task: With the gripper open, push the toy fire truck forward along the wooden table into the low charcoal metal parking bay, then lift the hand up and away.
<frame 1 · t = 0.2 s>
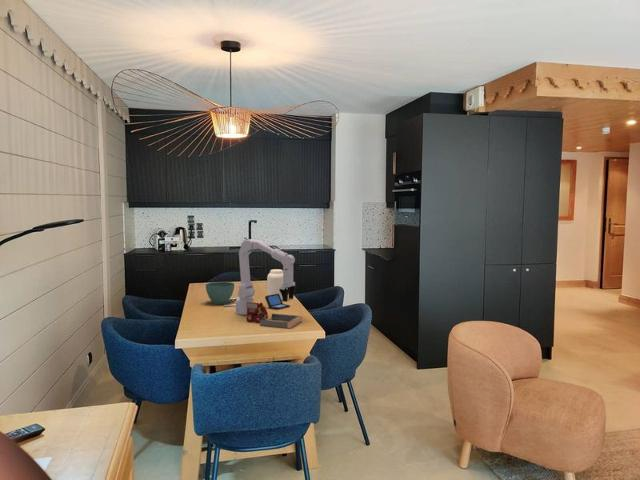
hand: (288, 300, 272), 10 cm above the table, tool pointing down, fingers open, 7 cm apart
plant pot: (220, 303, 311), on the table
parking bay: (280, 323, 259), on the table
handheld game console: (277, 307, 299), on the table
toy fire truck: (256, 321, 264), on the table
white rounded tall piece: (276, 299, 323), on the table
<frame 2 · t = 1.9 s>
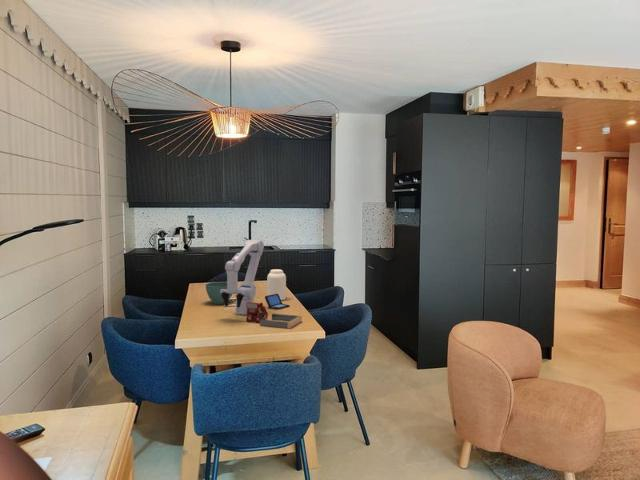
hand: (232, 306, 268), 7 cm above the table, tool pointing down, fingers open, 7 cm apart
nothing on the table moved.
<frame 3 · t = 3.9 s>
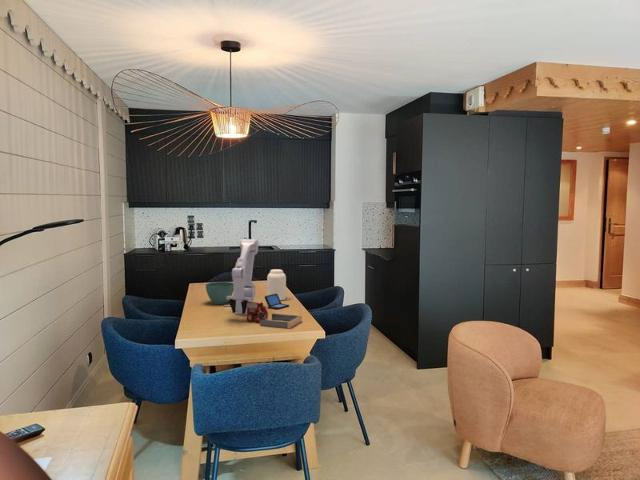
hand: (238, 313, 267), 3 cm above the table, tool pointing down, fingers open, 6 cm apart
toy fire truck: (256, 321, 264), on the table, touching gripper
everything else where it was.
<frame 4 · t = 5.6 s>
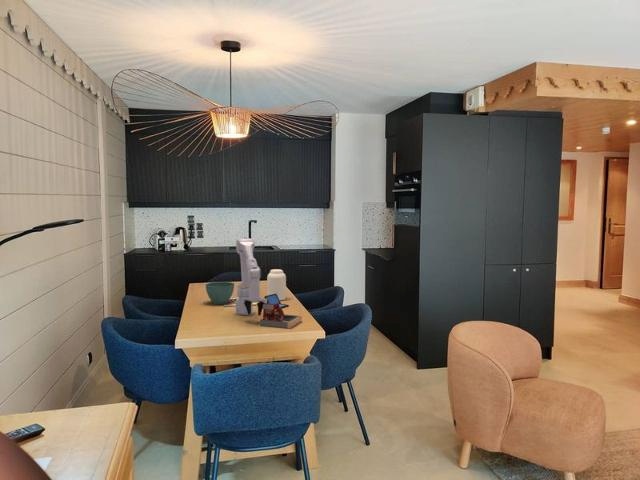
hand: (254, 314, 264), 3 cm above the table, tool pointing down, fingers open, 6 cm apart
toy fire truck: (273, 322, 261), on the table, touching gripper
everything else where it was.
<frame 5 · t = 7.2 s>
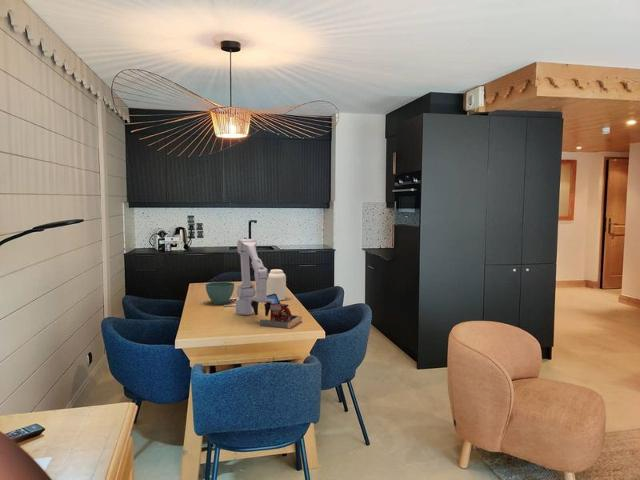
hand: (261, 315, 263), 3 cm above the table, tool pointing down, fingers open, 6 cm apart
toy fire truck: (280, 323, 259), on the table, touching gripper
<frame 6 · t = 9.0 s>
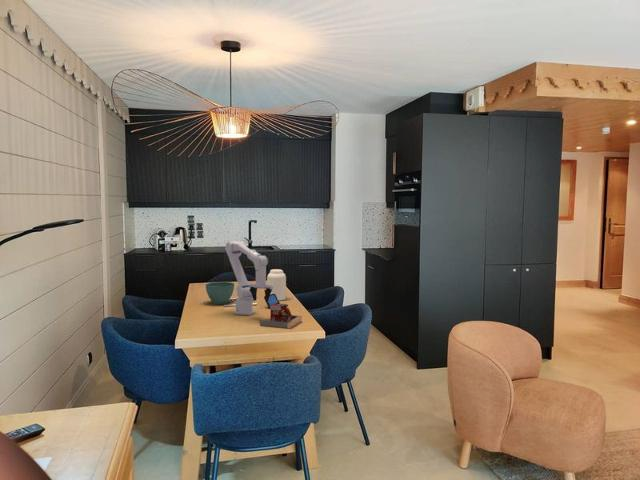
hand: (260, 301, 272), 9 cm above the table, tool pointing down, fingers open, 7 cm apart
toy fire truck: (280, 323, 259), on the table
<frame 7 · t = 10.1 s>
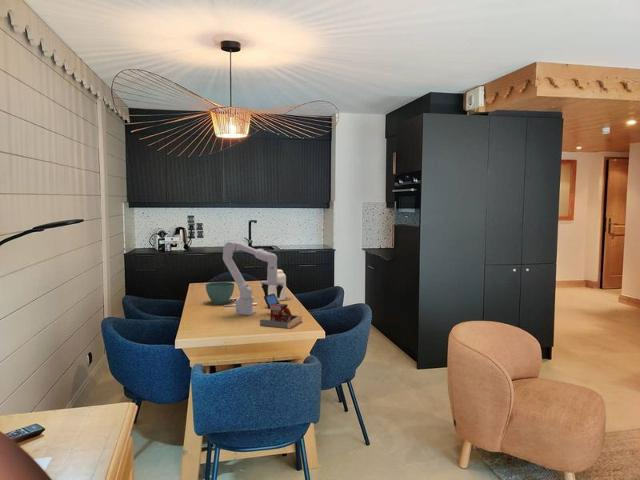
hand: (272, 297, 282), 9 cm above the table, tool pointing down, fingers open, 7 cm apart
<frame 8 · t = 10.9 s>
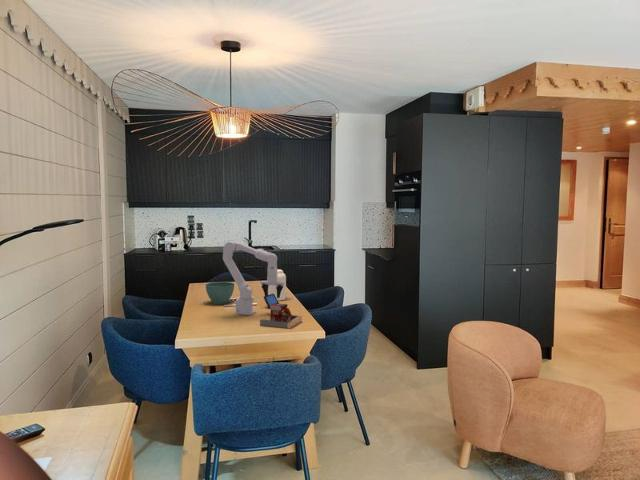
hand: (272, 297, 282), 9 cm above the table, tool pointing down, fingers open, 7 cm apart
at the end: toy fire truck inside the target area (0.9 cm from its centre), on the table; toy fire truck tilted 0°; toy fire truck moved 14.3 cm from its start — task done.
